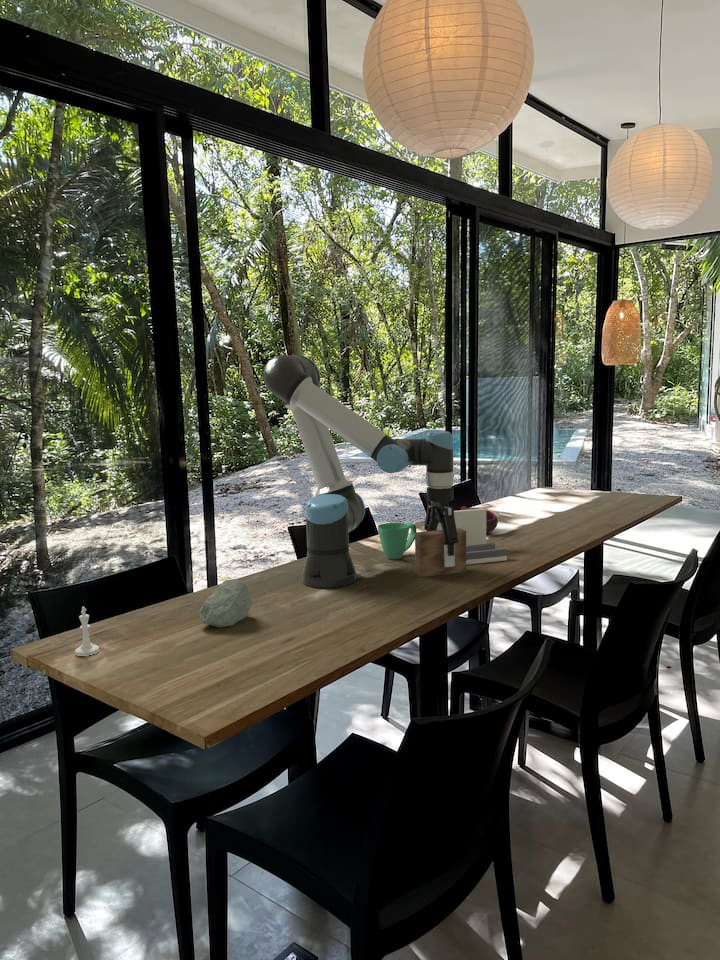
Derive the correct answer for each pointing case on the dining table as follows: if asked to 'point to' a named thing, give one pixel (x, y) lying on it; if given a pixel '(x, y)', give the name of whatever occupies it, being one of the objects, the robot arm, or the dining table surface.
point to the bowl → (487, 519)
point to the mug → (396, 538)
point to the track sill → (476, 537)
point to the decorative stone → (226, 604)
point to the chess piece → (86, 638)
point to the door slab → (438, 553)
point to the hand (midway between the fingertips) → (440, 560)
